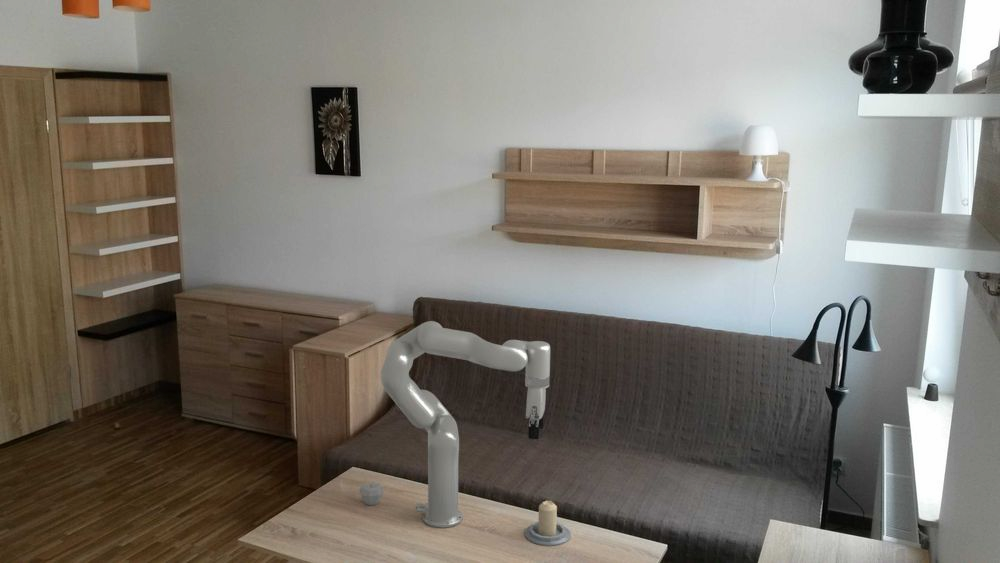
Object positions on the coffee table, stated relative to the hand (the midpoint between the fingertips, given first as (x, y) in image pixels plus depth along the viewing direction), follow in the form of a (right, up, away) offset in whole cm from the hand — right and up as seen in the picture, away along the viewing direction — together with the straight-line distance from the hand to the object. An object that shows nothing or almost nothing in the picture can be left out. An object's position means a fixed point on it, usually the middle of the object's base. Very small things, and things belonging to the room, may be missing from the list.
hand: (535, 433), depth 261 cm
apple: (-54, -26, +13) cm, 61 cm away
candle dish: (+3, -30, -7) cm, 31 cm away
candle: (+3, -30, -7) cm, 31 cm away
